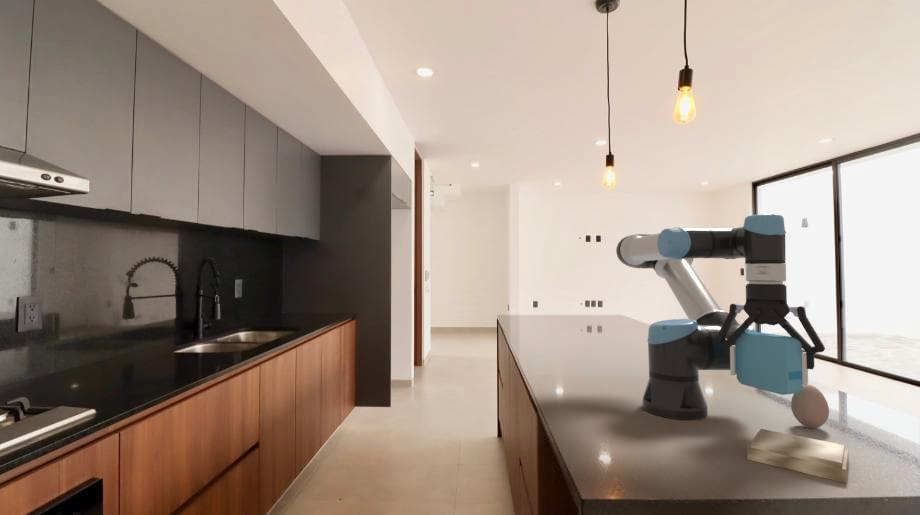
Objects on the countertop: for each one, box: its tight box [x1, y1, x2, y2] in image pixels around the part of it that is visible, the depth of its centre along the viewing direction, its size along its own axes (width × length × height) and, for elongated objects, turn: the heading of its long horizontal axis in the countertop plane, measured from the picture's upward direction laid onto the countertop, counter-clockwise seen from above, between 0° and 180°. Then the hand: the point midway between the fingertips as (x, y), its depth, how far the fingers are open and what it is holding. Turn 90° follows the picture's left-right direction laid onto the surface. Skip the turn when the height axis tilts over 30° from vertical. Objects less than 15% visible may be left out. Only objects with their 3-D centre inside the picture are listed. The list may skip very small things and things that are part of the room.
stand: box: [746, 428, 850, 484], centre depth 82 cm, size 14×12×3 cm
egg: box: [790, 384, 830, 429], centre depth 100 cm, size 7×7×10 cm
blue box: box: [735, 331, 803, 396], centre depth 97 cm, size 12×4×12 cm, turn 17°
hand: (767, 379), depth 97 cm, fingers closed on blue box, 12 cm apart
